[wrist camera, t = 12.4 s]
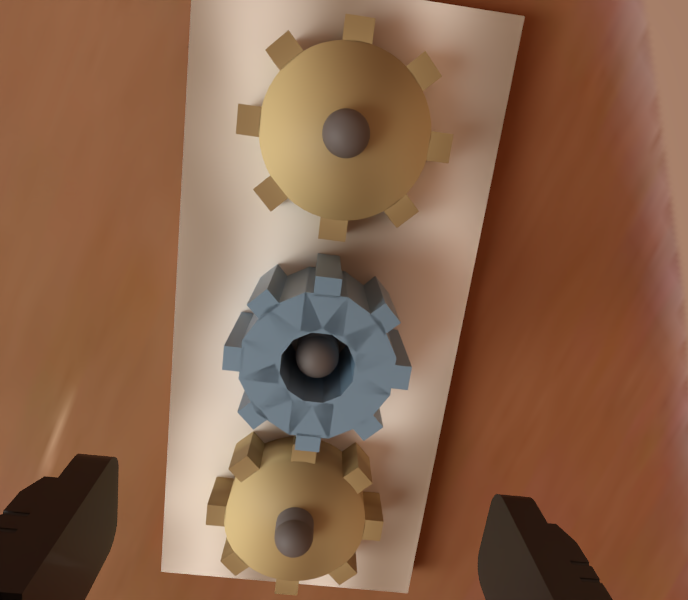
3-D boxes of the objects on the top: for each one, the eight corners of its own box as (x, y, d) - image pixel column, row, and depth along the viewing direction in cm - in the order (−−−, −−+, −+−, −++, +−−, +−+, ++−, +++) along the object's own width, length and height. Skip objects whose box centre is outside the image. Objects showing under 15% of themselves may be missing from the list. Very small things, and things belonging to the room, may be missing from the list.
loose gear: (234, 393, 24) (216, 442, 20) (247, 244, 22) (230, 265, 18) (384, 409, 24) (395, 460, 20) (408, 264, 22) (425, 289, 18)
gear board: (170, 549, 27) (135, 637, 23) (202, -24, 20) (163, -77, 16) (403, 570, 28) (419, 659, 23) (511, 24, 21) (566, -12, 16)
